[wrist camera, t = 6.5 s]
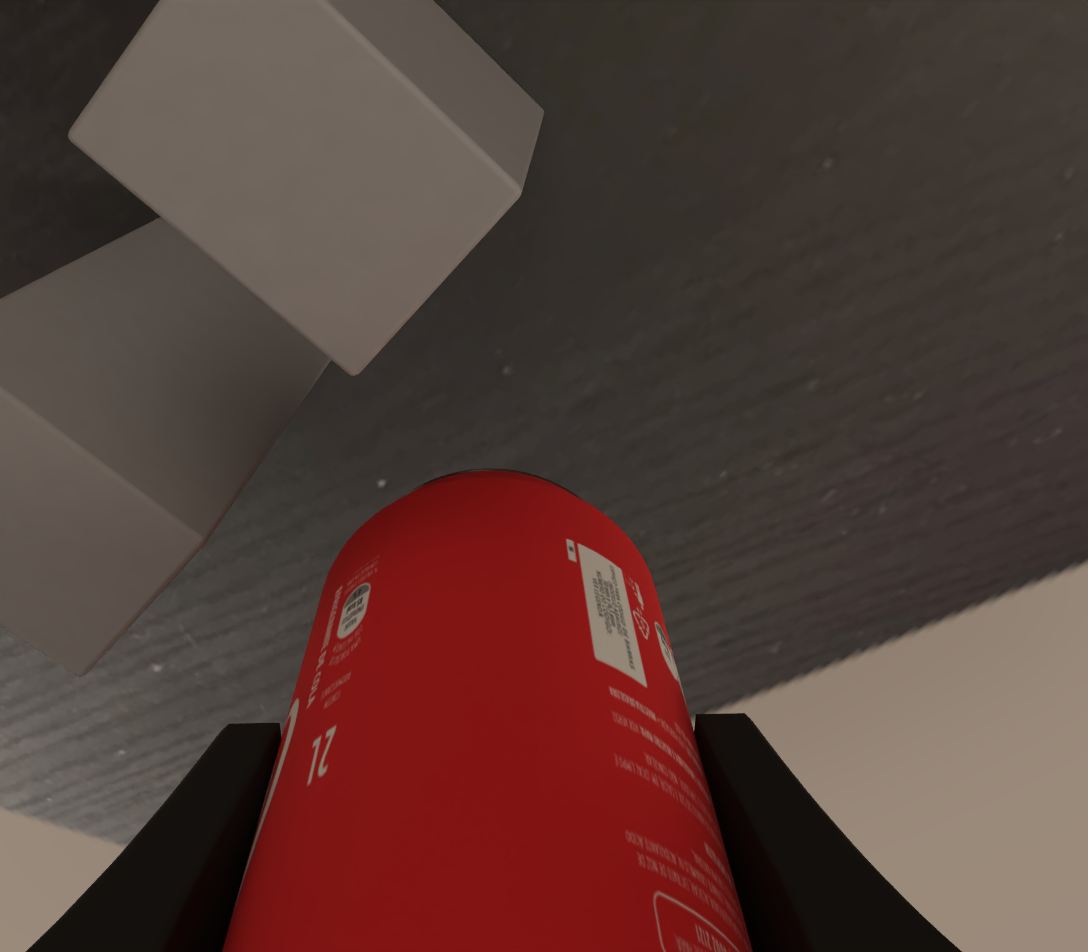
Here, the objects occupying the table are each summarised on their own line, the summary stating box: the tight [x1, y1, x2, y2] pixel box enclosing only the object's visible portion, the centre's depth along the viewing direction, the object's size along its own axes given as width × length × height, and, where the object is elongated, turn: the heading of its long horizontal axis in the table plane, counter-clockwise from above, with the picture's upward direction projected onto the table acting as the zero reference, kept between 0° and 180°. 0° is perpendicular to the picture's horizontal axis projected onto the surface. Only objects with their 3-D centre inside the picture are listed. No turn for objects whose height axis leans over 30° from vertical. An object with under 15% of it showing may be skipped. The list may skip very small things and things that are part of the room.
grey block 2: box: [0, 217, 331, 677], centre depth 17 cm, size 4×3×9 cm
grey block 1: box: [68, 0, 544, 376], centre depth 15 cm, size 4×3×9 cm
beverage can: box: [222, 469, 753, 952], centre depth 11 cm, size 5×5×12 cm
